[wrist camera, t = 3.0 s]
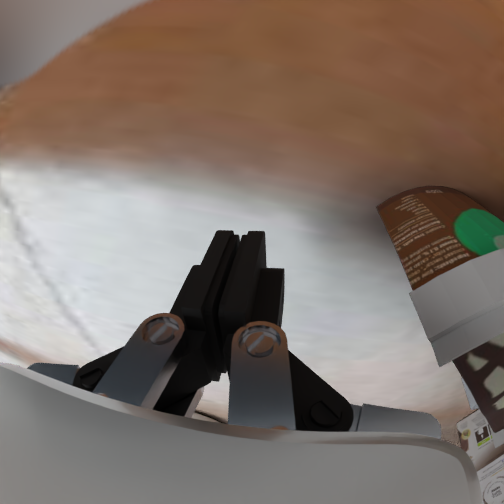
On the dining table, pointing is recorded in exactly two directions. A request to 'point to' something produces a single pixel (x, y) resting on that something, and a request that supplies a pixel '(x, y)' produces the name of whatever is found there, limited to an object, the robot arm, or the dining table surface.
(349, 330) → the dining table surface
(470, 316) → the food container
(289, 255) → the dining table surface
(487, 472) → the coffee box
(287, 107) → the dining table surface
